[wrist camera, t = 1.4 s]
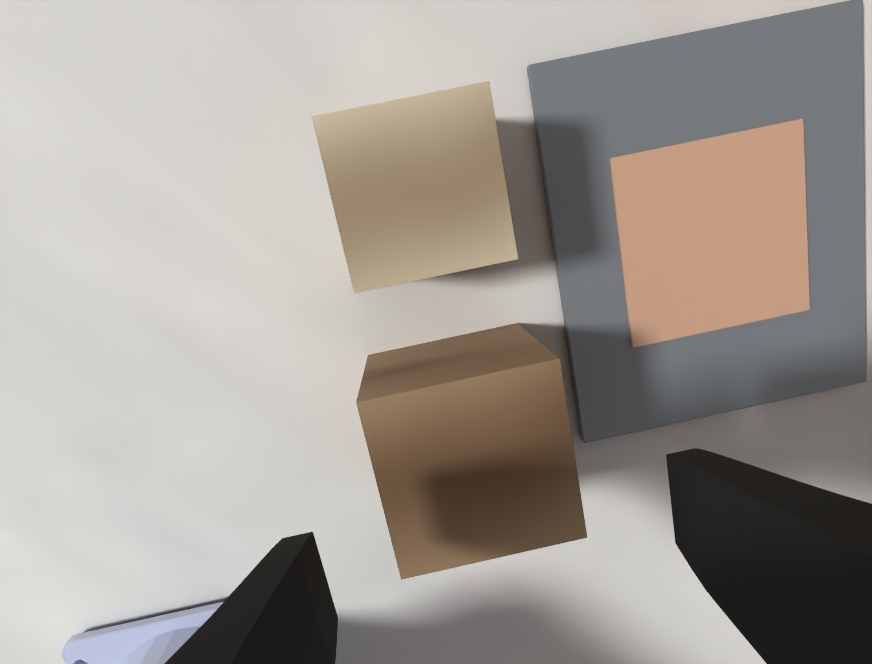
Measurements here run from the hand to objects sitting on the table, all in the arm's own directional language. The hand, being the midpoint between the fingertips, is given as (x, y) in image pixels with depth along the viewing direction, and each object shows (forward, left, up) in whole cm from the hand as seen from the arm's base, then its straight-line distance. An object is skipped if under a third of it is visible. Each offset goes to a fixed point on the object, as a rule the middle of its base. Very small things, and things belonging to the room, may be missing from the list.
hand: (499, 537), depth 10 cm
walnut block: (0, 0, -7) cm, 7 cm away
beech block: (+7, 0, -7) cm, 10 cm away
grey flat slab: (+4, -9, -7) cm, 12 cm away
